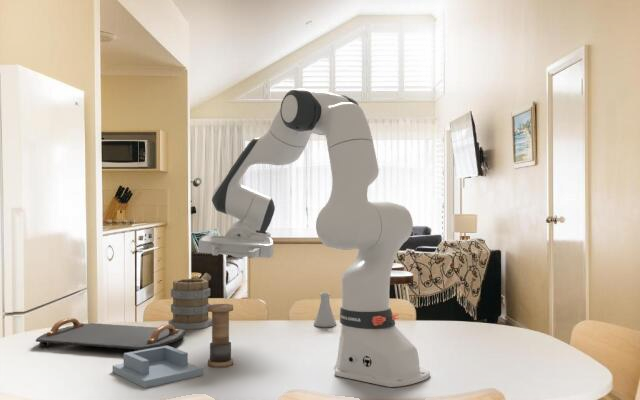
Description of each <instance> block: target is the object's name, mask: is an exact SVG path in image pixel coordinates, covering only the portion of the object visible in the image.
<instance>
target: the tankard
mask: <svg viewBox="0 0 640 400" xmlns="http://www.w3.org/2000/svg"><path fill="white" fill-rule="evenodd" d="M211 279H212V276H211V275H210V273H208V272H205V273H204V274H203V275H202V276H201V278H185V279H184V278H181V279H176V280H173V281H172V288H171V289H170V296H171V298H172V304H170V312H171V313H172V318H171V319H168V324H170V325H173V326H174V328H175V329H184V330H185V331H191V330H200V329H205V328H206V329H207V328H208V327H212V318H211V317H209V311H208V306H209V305H211V304H210V303H209V298H210V296H211V288H210V287H209V281H211Z"/></svg>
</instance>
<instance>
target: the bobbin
mask: <svg viewBox="0 0 640 400" xmlns="http://www.w3.org/2000/svg"><path fill="white" fill-rule="evenodd" d="M208 311H209V312H210V313H211V319H212V325H211V342H210V343H209V359H208V360H207V366H208V367H210V368H215V369H216V368H217V369H219V368H222V369H223V368H229V367H232V366H233V365H234V358H233V357H232V342H231V341H230V312H232V311H234V304H232V303H231V304H230V303H213V304H210V305H209V306H208ZM209 312H208V313H209Z"/></svg>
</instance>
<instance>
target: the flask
mask: <svg viewBox="0 0 640 400" xmlns="http://www.w3.org/2000/svg"><path fill="white" fill-rule="evenodd" d="M319 296H320V301H319V303H320V304H319V307H318V311H317V313H316V316H315V319H314V322H313V326H315V327H320V328H321V327H322V328H329V327H332V328H333V327H335V326H337V325H338V324H337V322H336V320H335V317H334V314H333V311H332V307H331V303H330V296H331V293H329V292H320V293H319Z"/></svg>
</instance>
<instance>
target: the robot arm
mask: <svg viewBox="0 0 640 400" xmlns="http://www.w3.org/2000/svg"><path fill="white" fill-rule="evenodd" d="M312 134H313V135H314V134H316V135H318V136H325V139H326V146H327V151H328V158H329V165H330V171H331V178H332V181H331V182H332V183H331V184H332V185H331V192H330V196H329V199H328V201H327V202H326V204H325V206H324V207H322V208H321V210H320V211H319V212H318V215H317V217H316V221H315V229H316V234H317V237H318V239H319V240H320V242H321V243H322V244H323V245H324V246H325V247H327V248H331V249H335V250H343V251H349V250H350V251H351V250H358V252H357V255H356V258H355V260H354V261H353V263H352V264H351V265H350V266H349V267H347V269H345V271H344V272H343V274H342V277H341V278H342V279H341V307H340V309H339V322H340V324H341V328H340V329H341V330H340V335H339V342H338V343H339V344H338V351H337V358H336V361H335V366H334V375H335V376H336V377H341V378H346V379H350V380H355V381H359V382H360V381H361V382H365V383H371V384H374V385H378V386H384V387H387V388H388V387H389V388H393V387H394V388H395V387H397V388H398V387H404V386H409V385H413V384H417V383H419V382H423V381H425V380H427V379H428V378H429V377H430V375H431V373H430V372H431V371H430V370H429V369H427V368H423V367H421V366H420V358H419V352H418V349H417V347H416V346H415V345H414V344H413V343H412V342H411V341H410V340H409V339H408V338H407V337H406V336H405V334H403V332H401V331H400V330H399V328H398V327H397V325H396V321H395V320H398V319H399V313H394V314H393V312H392V309H391V307H390V287H391V285H390V283H391V276H392V275H391V274H392V273H391V272H392V269H393V265H394V264H395V263H394V262H395V261H396V260H395V259H396V257H397V254H399V250H400V249H401V247H402V246H403V245H404V243H406V242H407V241H408V240H409V239H410V237H411V235H412V232H413V227H414V225H413V217H412V215H411V213H410V211H409V210H408V209H407V208H406V207H405V206H404V205H401V204H398V203H394V202H389V201H369V198H368V189H369V186H370V185H371V184H372V183H374V182H375V181H376V179H377V178H378V176H379V170H380V169H379V165H378V160H377V159H378V158H377V155H376V149H375V146H374V141H373V136H372V135H373V134H372V131H371V128H370V126H369V122H368V120H367V117H366V115H365V112H364V110H363V108H362V107H361V106H360V105H359V103H358V102H357V100H355V99H353V98H351V97H350V96H347V95H341V94H340V95H339V94H336V93H333V92H328V91H326V90H318V89H306V88H295V89H291V90H289V91H288V92H286V93H285V95H284V97H283V98H282V101H281V104H280V108H279V109H278V111H277V112H276V115H275V116H274V118H273V120H272V122H271V124H270V126H269V129H268V130H267V131H266V133H265V134H263V135H262V136H260V137H254V138H253V139H251V140H250V142H249V143H247V146H246V147H245V148H244V149H243V151H242V152H241V153H240V154H239V156H238V158H237V159H236V160H235V162H234V164H233V165H232V167H231V168H230V170H229V171H228V173H227V175H226V176H225V177H224V179H223V180H222V181H220V182H219V184H218V185H217V186H216V188H215V189H214V190H213V193H212V197H211V202H212V204H213V207H214V208H215V210H216V211H217V212H219V213H222V214H225V215H228V216H231V217H233V218H235V219H237V220H236V221H234V222H233V223H232V225H231V226H230V227H229V228H228V230H227V232H226V233H225V235H218V234H217V235H216V234H206V235H204V236H202V237H200V238H199V240H198V252H200V253H202V254H211V255H212V256H219V255H223V256H224V255H225V256H231V257H233V258H237V259H241V258H245V257H248V259H254V258H263V259H272V258H274V257H273V256H274V240H273V238H272V237H271V233H270V232H268V231H267V230H268V228H269V226H270V224H271V222H272V219H273V216H274V214H275V210H276V208H275V207H276V206H275V202H274V200H273V198H272V197H270V196H268V195H266V194H263V193H262V192H259V191H256V190H254V189H252V188H250V187H248V186H246V185H244V184H242V183H241V182H240V181H241V179H242V177H244V174H245V173H246V172H247V170H248V169H249V168H250V167H251V166H253V165H270V166H271V165H273V166H285V165H290V164H293V163H294V162H296V161H297V160H298V159H299V158H300V157H301V155H302V153H303V152H304V150H305V148H306V146H307V144H308V141H310V137H311V135H312Z"/></svg>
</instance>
